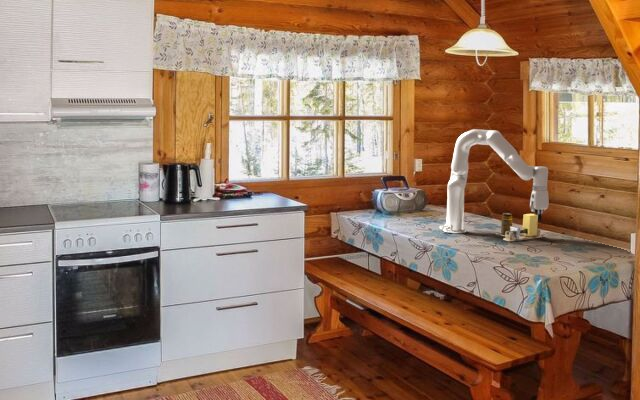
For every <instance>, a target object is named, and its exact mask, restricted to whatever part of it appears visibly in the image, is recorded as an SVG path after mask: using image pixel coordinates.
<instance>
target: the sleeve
mask: <svg viewBox="0 0 640 400" xmlns="http://www.w3.org/2000/svg"><path fill="white" fill-rule="evenodd" d="M522 217H523V218H522V230H526V229H528V233H521V235H522V236H526V235H527V236H533V235H537V228H538V215H535V214H534V213H526V214H523V216H522Z"/></svg>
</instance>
